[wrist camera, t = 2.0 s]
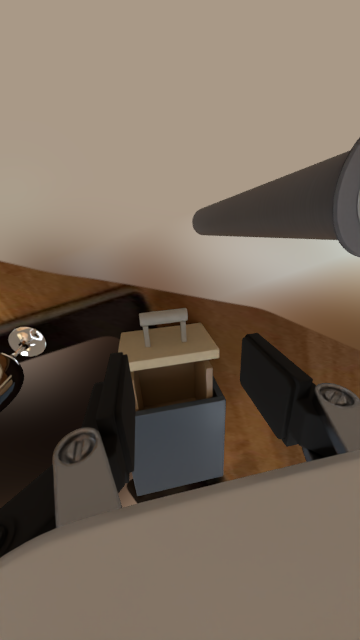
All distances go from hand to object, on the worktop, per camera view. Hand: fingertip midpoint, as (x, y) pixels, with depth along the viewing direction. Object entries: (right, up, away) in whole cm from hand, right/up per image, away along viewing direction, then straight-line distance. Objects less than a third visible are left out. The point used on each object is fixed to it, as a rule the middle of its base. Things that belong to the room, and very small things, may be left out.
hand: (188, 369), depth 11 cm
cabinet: (-2, -11, +26) cm, 28 cm away
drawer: (-3, -3, +21) cm, 21 cm away
